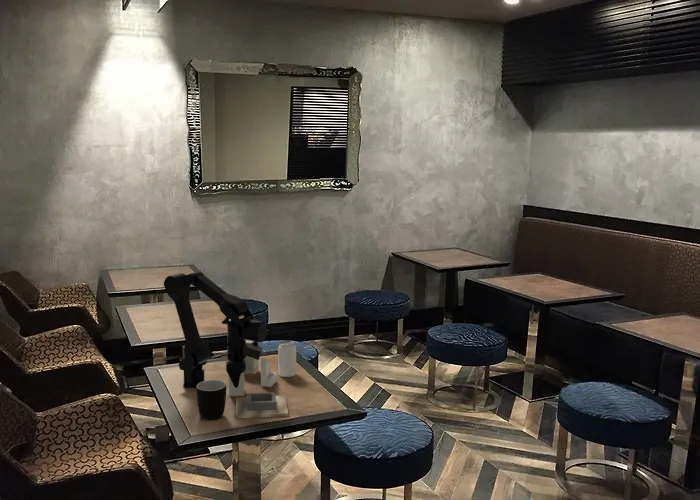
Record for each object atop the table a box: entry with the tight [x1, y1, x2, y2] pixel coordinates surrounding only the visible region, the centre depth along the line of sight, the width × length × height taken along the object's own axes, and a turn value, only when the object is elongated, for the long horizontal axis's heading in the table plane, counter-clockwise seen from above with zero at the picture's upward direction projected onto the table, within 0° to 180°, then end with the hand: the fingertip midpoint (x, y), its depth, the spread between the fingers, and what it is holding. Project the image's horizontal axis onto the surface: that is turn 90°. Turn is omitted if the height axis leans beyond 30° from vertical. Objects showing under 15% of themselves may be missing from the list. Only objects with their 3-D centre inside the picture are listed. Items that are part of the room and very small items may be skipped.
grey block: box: [228, 372, 245, 397], centre depth 208 cm, size 5×4×9 cm
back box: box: [246, 392, 277, 411], centre depth 197 cm, size 9×8×2 cm
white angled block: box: [260, 358, 277, 388], centre depth 217 cm, size 4×10×9 cm, turn 168°
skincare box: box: [244, 340, 259, 376], centre depth 228 cm, size 6×4×12 cm
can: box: [277, 340, 297, 378], centre depth 227 cm, size 6×6×12 cm
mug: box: [195, 379, 227, 422], centre depth 191 cm, size 12×9×10 cm
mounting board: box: [235, 395, 289, 420], centre depth 198 cm, size 16×14×1 cm
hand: (236, 382), depth 209 cm, fingers open, 9 cm apart
